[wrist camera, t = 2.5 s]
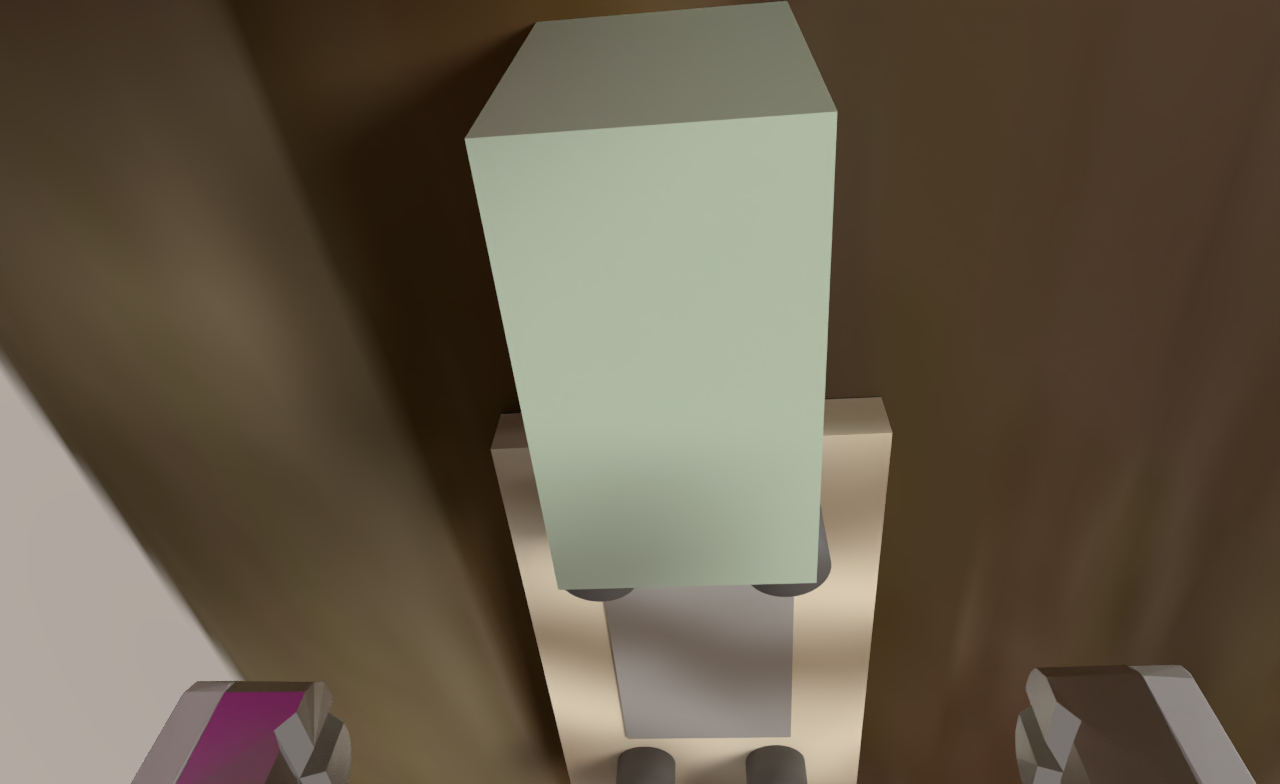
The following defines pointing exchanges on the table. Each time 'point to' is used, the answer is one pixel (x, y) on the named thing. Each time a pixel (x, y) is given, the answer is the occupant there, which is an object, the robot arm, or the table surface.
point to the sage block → (666, 289)
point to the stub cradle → (715, 639)
